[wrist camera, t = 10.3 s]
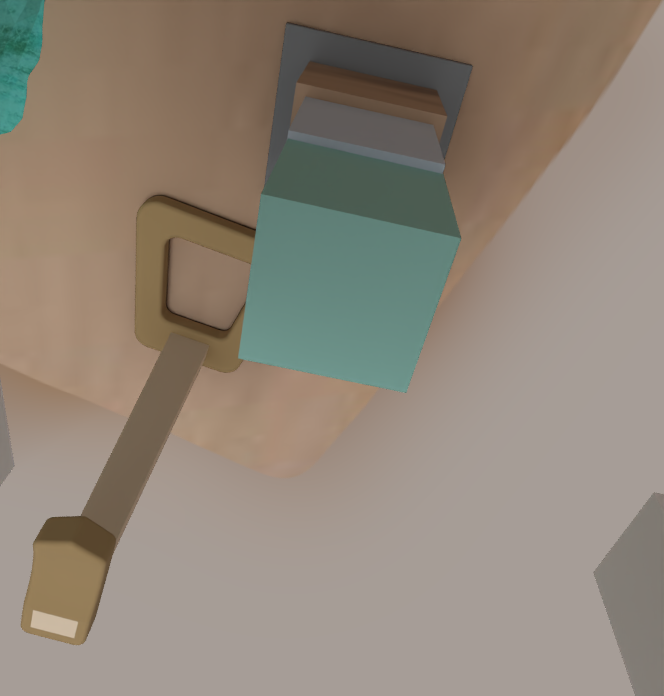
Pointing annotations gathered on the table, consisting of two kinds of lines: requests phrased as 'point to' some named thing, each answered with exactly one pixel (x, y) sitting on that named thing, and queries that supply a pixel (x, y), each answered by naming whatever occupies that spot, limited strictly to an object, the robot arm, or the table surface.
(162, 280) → the headphone stand
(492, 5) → the table surface
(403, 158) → the gray block
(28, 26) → the decorative stone
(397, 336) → the teal block
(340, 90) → the base block
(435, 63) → the coaster
